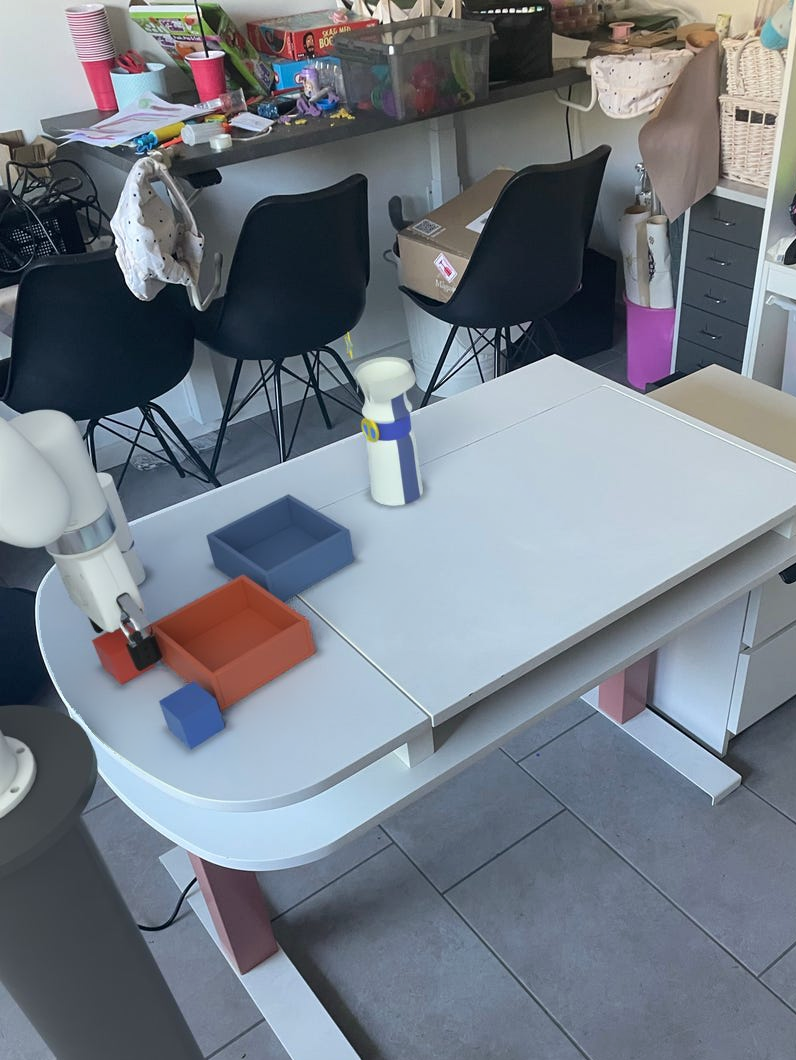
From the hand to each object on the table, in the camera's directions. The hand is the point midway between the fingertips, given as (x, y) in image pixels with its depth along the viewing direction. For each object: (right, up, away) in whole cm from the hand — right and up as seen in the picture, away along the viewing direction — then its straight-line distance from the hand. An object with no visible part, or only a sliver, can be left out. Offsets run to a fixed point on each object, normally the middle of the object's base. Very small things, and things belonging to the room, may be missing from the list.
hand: (128, 644), depth 111 cm
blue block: (+10, -9, -7) cm, 16 cm away
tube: (-5, +9, +15) cm, 18 cm away
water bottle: (+29, +22, +28) cm, 46 cm away
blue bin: (+15, +11, +16) cm, 24 cm away
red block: (0, -3, +1) cm, 3 cm away
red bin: (+12, -1, +2) cm, 13 cm away
